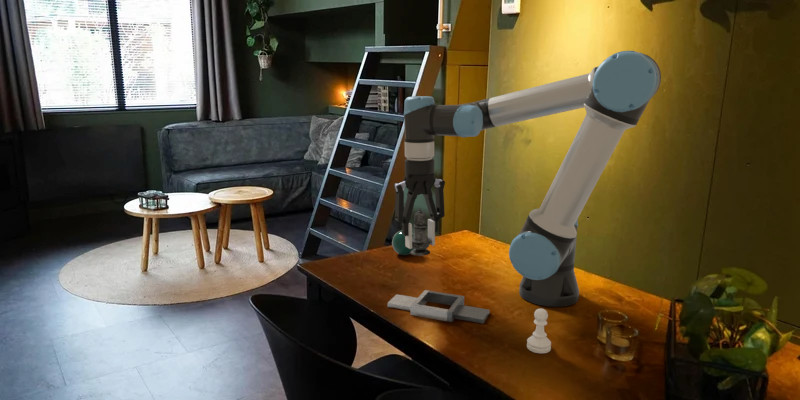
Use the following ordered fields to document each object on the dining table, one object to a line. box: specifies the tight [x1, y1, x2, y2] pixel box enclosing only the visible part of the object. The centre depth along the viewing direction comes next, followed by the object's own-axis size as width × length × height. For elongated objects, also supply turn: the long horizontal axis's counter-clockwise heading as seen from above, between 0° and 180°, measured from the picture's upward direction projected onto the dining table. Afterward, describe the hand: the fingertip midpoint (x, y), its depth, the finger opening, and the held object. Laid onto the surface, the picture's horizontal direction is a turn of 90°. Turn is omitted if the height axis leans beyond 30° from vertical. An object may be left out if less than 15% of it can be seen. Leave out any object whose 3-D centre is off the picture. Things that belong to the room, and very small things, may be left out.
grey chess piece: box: [410, 208, 431, 257], centre depth 148 cm, size 6×6×12 cm
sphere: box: [391, 229, 414, 256], centre depth 180 cm, size 8×8×8 cm
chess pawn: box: [526, 307, 552, 354], centre depth 121 cm, size 5×5×9 cm
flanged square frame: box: [387, 289, 490, 324], centre depth 140 cm, size 24×10×2 cm, turn 68°
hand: (420, 245), depth 149 cm, fingers closed on grey chess piece, 6 cm apart
